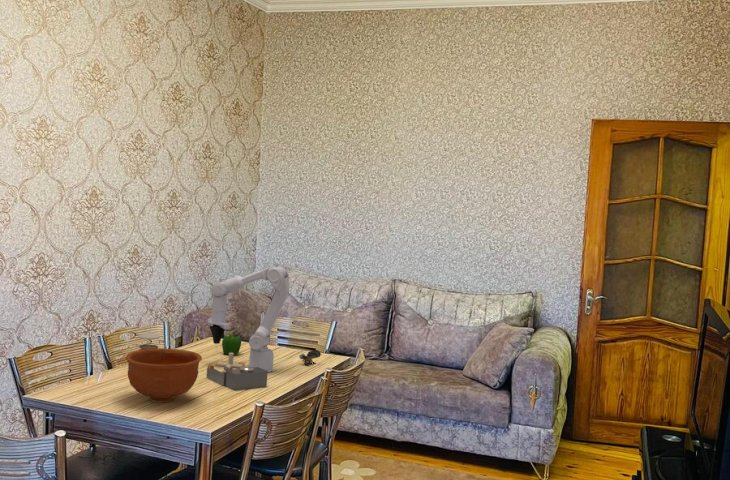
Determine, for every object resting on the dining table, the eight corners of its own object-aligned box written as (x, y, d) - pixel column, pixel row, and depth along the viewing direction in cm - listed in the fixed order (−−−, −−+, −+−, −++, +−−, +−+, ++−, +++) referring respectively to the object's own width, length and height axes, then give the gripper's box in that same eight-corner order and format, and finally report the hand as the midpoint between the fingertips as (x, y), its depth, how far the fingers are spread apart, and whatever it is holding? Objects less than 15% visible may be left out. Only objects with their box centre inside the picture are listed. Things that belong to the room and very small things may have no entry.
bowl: (210, 395, 252) (213, 353, 251) (176, 413, 227) (180, 367, 227) (147, 386, 257) (150, 345, 256) (107, 403, 233) (110, 357, 232)
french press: (134, 367, 282) (138, 305, 281) (164, 368, 285) (168, 306, 284) (134, 373, 272) (138, 309, 271) (165, 374, 276) (169, 310, 275)
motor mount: (240, 374, 285) (241, 356, 285) (267, 386, 270) (269, 368, 269) (206, 377, 276) (207, 359, 275) (232, 390, 260) (234, 371, 260)
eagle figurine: (316, 365, 307) (324, 358, 315) (307, 351, 307) (316, 344, 315) (302, 372, 310) (311, 364, 318) (294, 358, 310) (303, 351, 318)
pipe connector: (237, 383, 271) (239, 357, 271) (212, 380, 273) (214, 354, 272) (246, 376, 281) (247, 351, 281) (221, 374, 282) (223, 349, 282)
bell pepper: (243, 353, 323) (244, 332, 323) (235, 357, 315) (237, 334, 315) (226, 351, 325) (227, 330, 325) (218, 354, 317) (220, 332, 317)
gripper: (202, 308, 298) (199, 340, 299) (218, 314, 287) (216, 347, 288) (217, 308, 303) (214, 339, 303) (234, 313, 292) (231, 346, 292)
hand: (216, 343), depth 296 cm, fingers closed
